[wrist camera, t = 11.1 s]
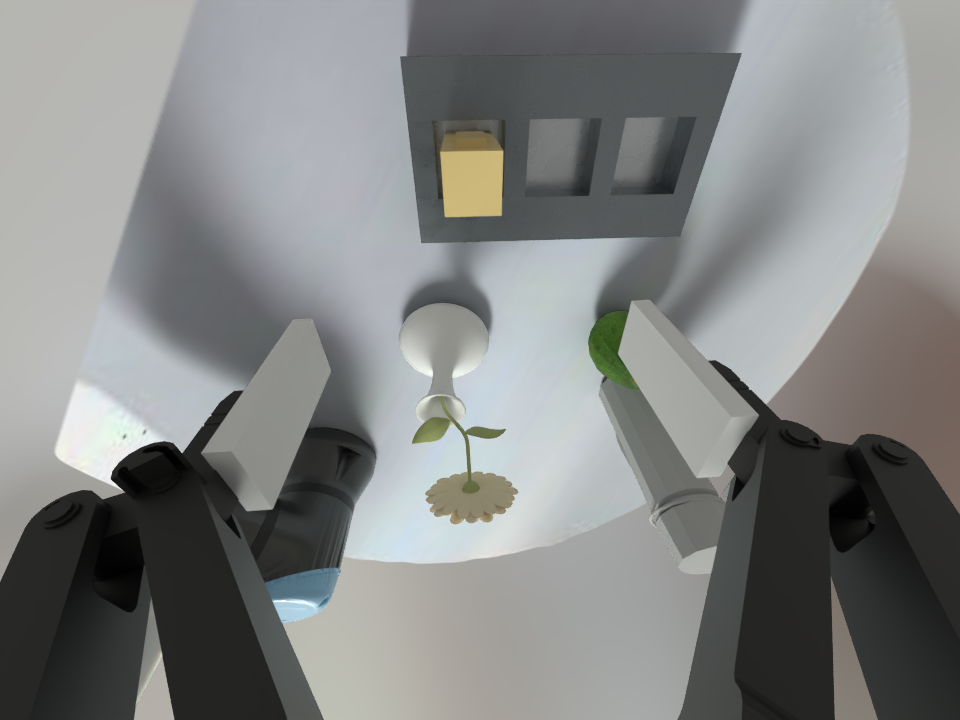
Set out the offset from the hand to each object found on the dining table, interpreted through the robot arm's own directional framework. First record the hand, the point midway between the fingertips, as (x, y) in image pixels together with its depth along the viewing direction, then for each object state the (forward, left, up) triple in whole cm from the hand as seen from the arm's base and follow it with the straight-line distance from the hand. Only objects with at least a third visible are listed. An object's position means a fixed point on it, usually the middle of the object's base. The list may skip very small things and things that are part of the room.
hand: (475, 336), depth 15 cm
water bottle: (+22, -29, -27) cm, 45 cm away
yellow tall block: (0, +3, -25) cm, 26 cm away
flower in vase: (-3, -18, -27) cm, 32 cm away
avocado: (+18, -17, -27) cm, 37 cm away
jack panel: (+8, +3, -26) cm, 28 cm away
